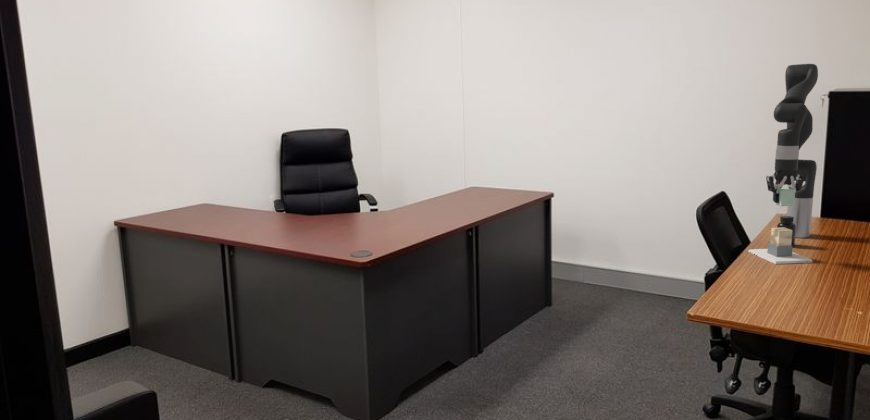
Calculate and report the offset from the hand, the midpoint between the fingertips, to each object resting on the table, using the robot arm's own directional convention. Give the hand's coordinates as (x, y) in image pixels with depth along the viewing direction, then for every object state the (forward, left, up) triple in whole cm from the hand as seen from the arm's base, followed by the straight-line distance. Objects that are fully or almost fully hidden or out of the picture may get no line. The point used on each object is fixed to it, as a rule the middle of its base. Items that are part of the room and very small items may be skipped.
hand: (783, 202), depth 233 cm
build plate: (0, 0, -21) cm, 21 cm away
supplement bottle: (-17, +13, -22) cm, 30 cm away
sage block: (0, 0, -1) cm, 1 cm away
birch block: (0, 0, -16) cm, 16 cm away
